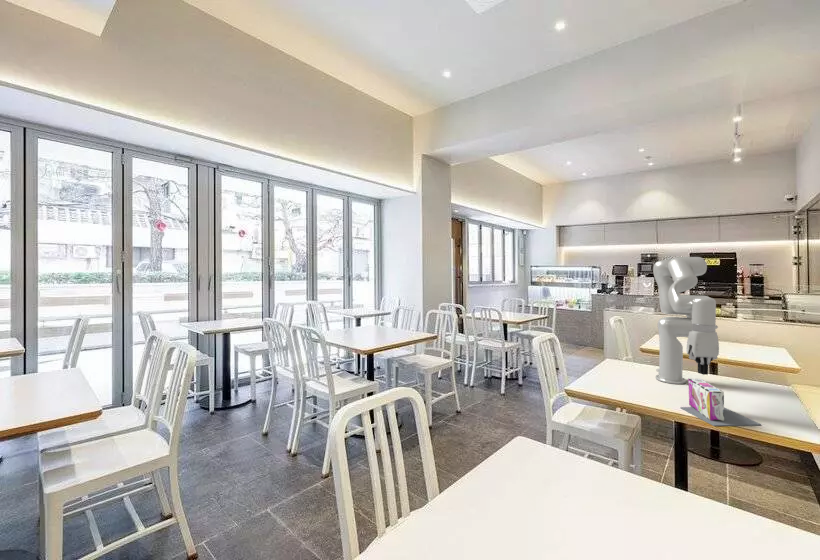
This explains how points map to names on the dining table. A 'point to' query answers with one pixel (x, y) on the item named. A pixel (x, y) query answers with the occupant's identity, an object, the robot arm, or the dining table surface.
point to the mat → (729, 418)
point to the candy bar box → (706, 399)
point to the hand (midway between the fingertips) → (702, 373)
